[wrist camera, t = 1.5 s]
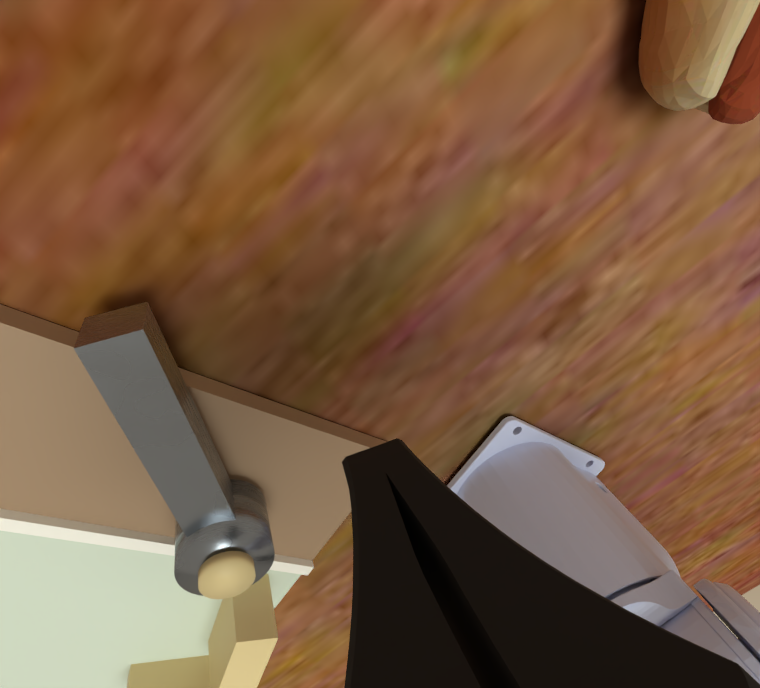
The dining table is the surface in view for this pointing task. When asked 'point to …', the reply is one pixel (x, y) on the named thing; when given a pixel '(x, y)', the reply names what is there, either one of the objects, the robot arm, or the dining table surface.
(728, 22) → the food
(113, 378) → the latch bar
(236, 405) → the board
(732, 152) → the dining table surface
